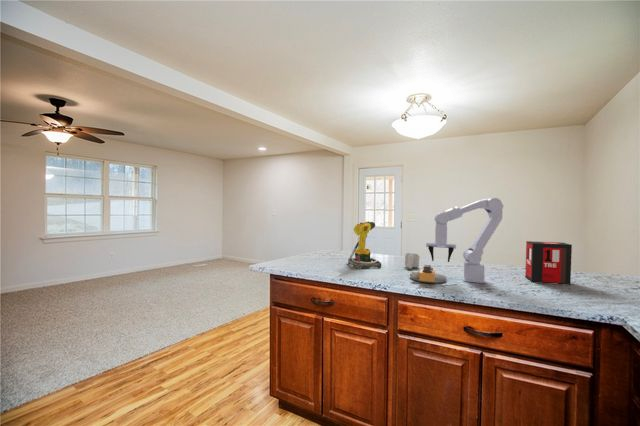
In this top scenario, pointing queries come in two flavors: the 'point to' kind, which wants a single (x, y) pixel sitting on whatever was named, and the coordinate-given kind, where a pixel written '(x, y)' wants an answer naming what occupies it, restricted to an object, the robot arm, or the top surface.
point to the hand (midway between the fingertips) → (440, 261)
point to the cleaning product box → (548, 262)
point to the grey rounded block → (412, 260)
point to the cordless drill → (363, 248)
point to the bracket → (424, 275)
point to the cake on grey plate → (438, 279)
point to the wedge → (427, 268)
